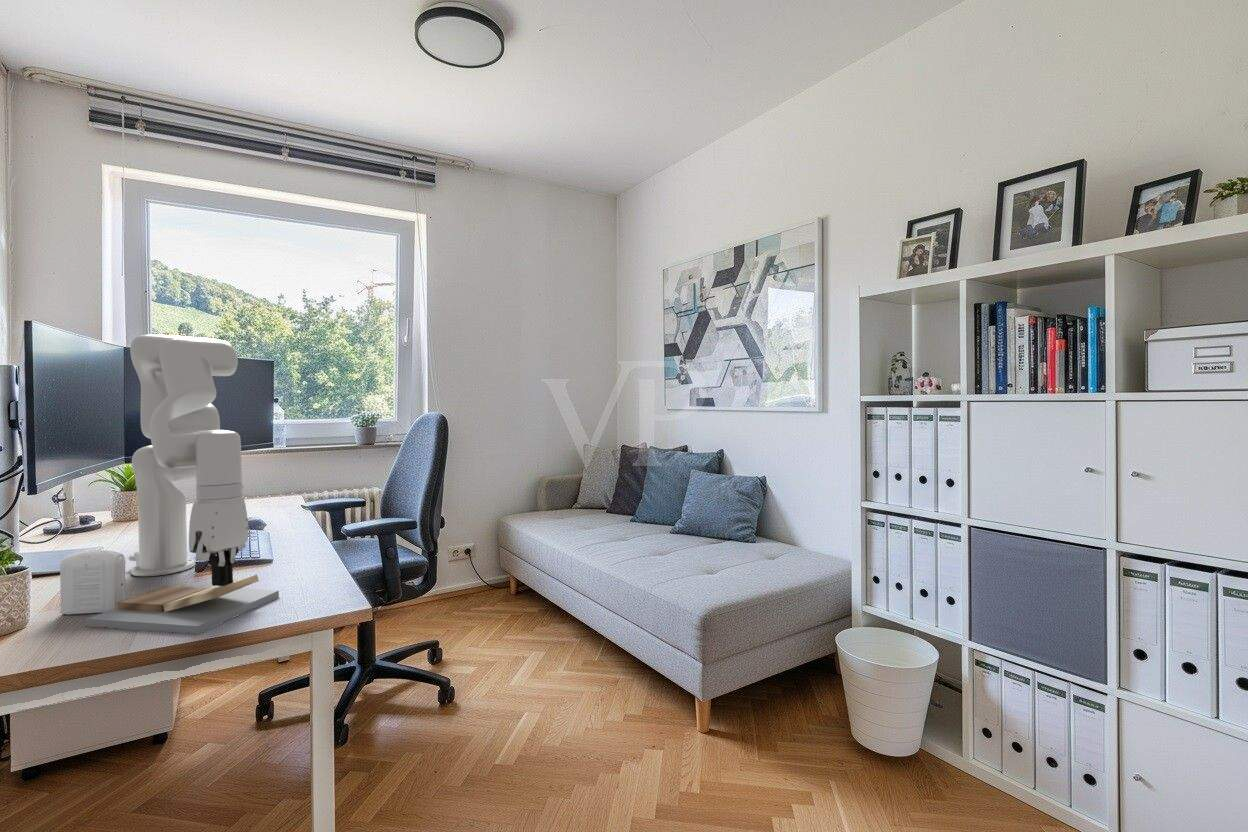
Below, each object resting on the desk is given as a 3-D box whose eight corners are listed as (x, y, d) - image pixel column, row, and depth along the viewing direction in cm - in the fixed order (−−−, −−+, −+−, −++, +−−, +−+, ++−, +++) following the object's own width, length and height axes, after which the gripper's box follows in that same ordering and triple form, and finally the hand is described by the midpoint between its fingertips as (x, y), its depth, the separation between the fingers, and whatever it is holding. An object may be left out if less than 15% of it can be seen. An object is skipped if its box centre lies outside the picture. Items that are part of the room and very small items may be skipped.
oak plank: (164, 612, 112) (162, 604, 112) (209, 595, 122) (207, 588, 122) (218, 597, 110) (216, 589, 111) (258, 581, 120) (256, 574, 120)
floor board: (86, 626, 109) (86, 618, 109) (182, 591, 129) (182, 585, 129) (197, 634, 106) (197, 626, 106) (278, 597, 125) (278, 590, 125)
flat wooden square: (117, 609, 114) (117, 601, 114) (165, 592, 124) (165, 585, 124) (161, 612, 113) (161, 604, 112) (206, 595, 122) (206, 588, 122)
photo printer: (130, 605, 121) (128, 546, 120) (117, 612, 116) (115, 551, 116) (71, 609, 118) (70, 549, 118) (56, 617, 114) (54, 555, 114)
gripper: (233, 488, 124) (236, 573, 124) (168, 498, 109) (171, 596, 109) (265, 487, 122) (267, 574, 123) (203, 498, 108) (206, 596, 108)
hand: (222, 584), depth 116 cm, fingers closed
